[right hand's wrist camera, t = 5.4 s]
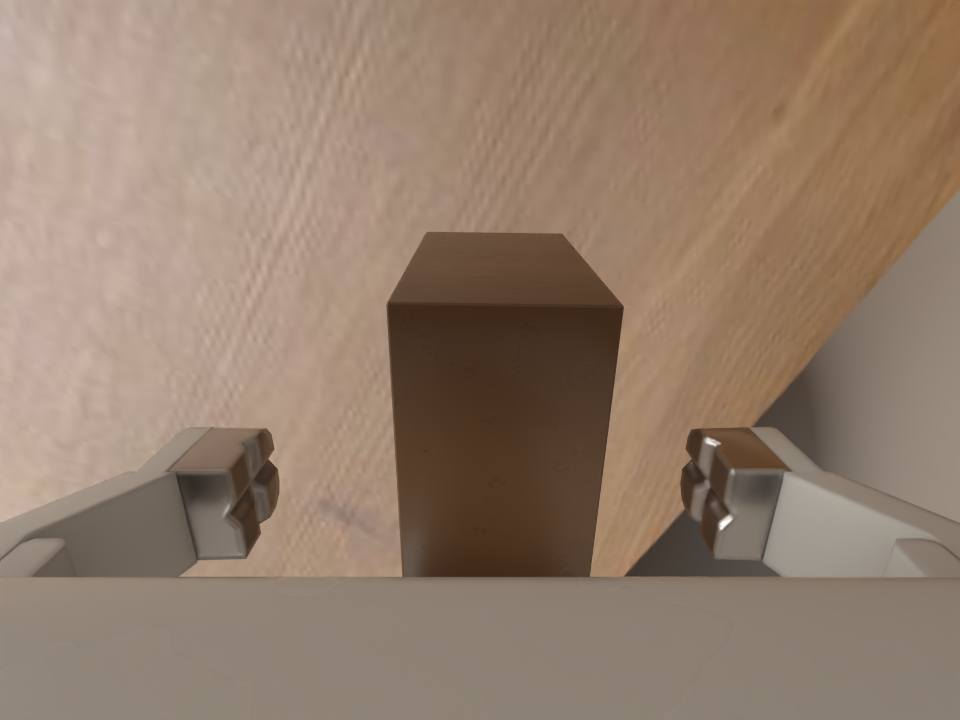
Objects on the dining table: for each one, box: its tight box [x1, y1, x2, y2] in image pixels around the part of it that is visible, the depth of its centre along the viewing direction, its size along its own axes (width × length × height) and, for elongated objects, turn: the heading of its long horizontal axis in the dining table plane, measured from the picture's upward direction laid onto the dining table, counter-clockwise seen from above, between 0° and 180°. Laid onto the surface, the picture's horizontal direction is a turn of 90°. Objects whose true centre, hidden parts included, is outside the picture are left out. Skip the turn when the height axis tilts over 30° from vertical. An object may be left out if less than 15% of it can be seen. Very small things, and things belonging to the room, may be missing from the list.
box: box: [386, 232, 624, 577], centre depth 21 cm, size 21×6×10 cm, turn 179°
